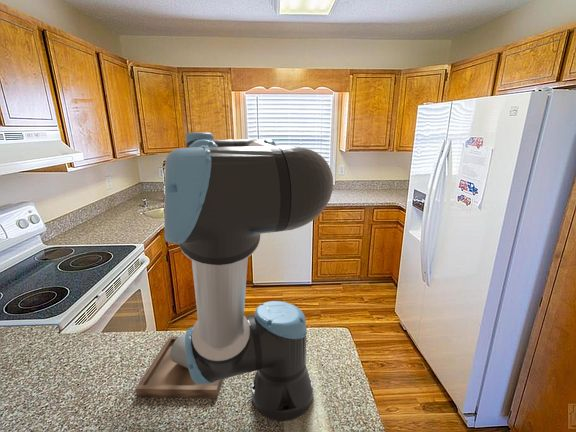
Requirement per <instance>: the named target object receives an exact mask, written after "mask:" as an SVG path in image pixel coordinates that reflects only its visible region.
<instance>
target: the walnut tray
mask: <svg viewBox="0 0 576 432" xmlns="http://www.w3.org/2000/svg"><path fill="white" fill-rule="evenodd" d="M178 337H179V336H169V337H168V338H167V340H166V341H165V342H164V344H163V346H162V347H161V349H160V350H159V352H158V353H157V355H156V356H155V358H154V359H153V361H152V363H150V366H149V367H148V369H147V370H146V372H145V373H144V374H143V376H142V378H141V379H140V381H139V382H138V384H137V386H136V387H135V394H136V395H135V396H136V398H155V399H156V398H157V399H158V398H159V399H160V398H161V399H162V398H165V399H166V398H167V399H169V398H170V399H174V398H175V399H181V398H182V399H218V398H219V394H220V391H221V388H222V384H223V381H224V379H221V380H217V381H215V382H213V383H205V384H196V383H195V382H194V381H193V380H192V378H191V375H190V372H189V369H188V368H186V367H184V366H182V365H179V364H177V363H175V362H173V361H172V360H171V357H170V351H171V348H172V345H173V343H174V342H175V341H176V339H177V338H178Z"/></svg>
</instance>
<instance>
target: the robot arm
mask: <svg viewBox="0 0 576 432" xmlns="http://www.w3.org/2000/svg"><path fill="white" fill-rule="evenodd" d="M164 162H165V163H164V164H165V168H164V171H165V172H164V231H163V232H164V240H165V242H166V243H169V244H174V245H178V247H179V249H180V250H181V252H182V254H183V255H185V257H186V258H187V259H189V260H190V261H191V267H192V268H191V269H192V278H193V285H194V295H195V305H196V306H195V307H196V314H197V319H196V321H195V323H194V324H193V326H191V327H189V328H188V329H187V330H186V331H185V334H186V335H185V349H186V358H187V363H188V366H189V372H190V375H191V378H192V380H193V381H194V382H195V383H196V384H205V383H213V382H215V381H217V380H221V379H223V380H224V379H228V378H232V377H235V376H241V375H244V374H247V373H251V372H255V374H254V378H253V381H252V385H251V399H252V400H251V401H252V404H253V406H254V408H255V409H256V411H257V412H258V413H259V414H260V415H262V416H263V417H266V418H268V419H270V420H274V421H282V422H283V421H289V420H293V419H296V418H298V417H300V416H301V415H304V413H305V412H306V411H307V410H309V407H310V406H311V405H312V402H313V398H314V384H313V380H312V378H311V376H310V374H309V371H308V368H307V334H308V330H307V323H306V320H307V319H306V316H305V314H304V312H303V311H302V309H300V308H299V307H298V306H296V305H294V304H293V303H289V302H287V301H283V300H270V301H269V300H268V301H266V302H263V303H261V304H260V305H258V306H257V307H256V309H255V311H254V314H253V315H252V314H251V315H248V316H246V315H245V303H246V302H245V301H246V291H247V289H246V288H247V278H248V277H247V275H248V263H249V257H251V256H252V255H253V254H254V252H255V251H256V250H257V248H258V246H259V243H260V241H261V234H268V233H269V234H270V233H271V234H272V233H278V232H286V231H293V230H296V229H298V228H302V227H303V226H306V225H308V224H310V223H311V222H312V221H313V220H315V219H316V218H317V217H319V215H321V213H322V212H323V211H324V210H325V209H326V207H327V205H328V204H329V202H330V200H331V197H332V194H333V189H334V176H333V172H332V169H331V167H330V165H329V163H328V162H327V161H326V159H325V158H324V157H323V156H322V155H321V154H319V153H318V152H316V151H314V150H312V149H309V148H306V147H301V146H293V145H276V143H275V141H274V140H273V139H270V138H269V139H266V138H258V139H257V138H255V139H253V138H251V139H249V138H247V139H215V137H214V135H213V133H212V132H189V133H186V135H185V147H182V148H181V147H178V148H175V149H173V150H171V151H170V152H169V153H168V154H167V156H166V158H165V161H164Z"/></svg>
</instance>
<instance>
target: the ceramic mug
mask: <svg viewBox="0 0 576 432" xmlns="http://www.w3.org/2000/svg"><path fill="white" fill-rule="evenodd" d="M185 335H186V333H183V334H181V335H179V336H177V337H178V338H177V339H176V341H175V342H174V343H173V345H172V348H171V351H170V357H171V360H172V361H173V362H175V363H177V364H179V365H182V366H184V367H186V368H188V369H189V366H188V363H187V358H186V349H185Z"/></svg>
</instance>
